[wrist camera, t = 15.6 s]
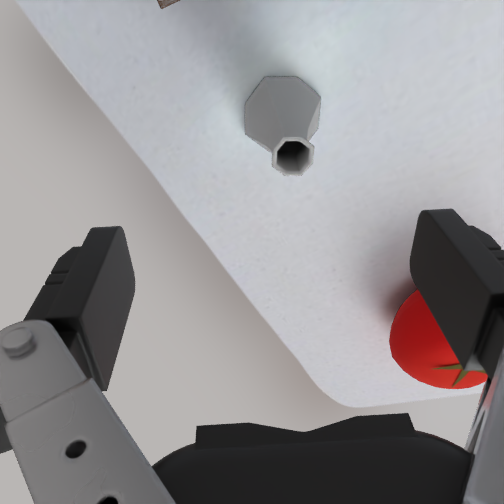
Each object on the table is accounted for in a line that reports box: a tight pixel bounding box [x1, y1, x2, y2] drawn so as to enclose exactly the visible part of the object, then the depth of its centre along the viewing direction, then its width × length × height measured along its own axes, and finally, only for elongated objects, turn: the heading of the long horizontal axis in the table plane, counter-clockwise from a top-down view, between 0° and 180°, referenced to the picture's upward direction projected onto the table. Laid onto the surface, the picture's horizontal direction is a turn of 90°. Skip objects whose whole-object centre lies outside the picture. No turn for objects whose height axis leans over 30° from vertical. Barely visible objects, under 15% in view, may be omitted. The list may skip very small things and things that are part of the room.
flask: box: [245, 77, 321, 176], centre depth 36 cm, size 7×7×10 cm
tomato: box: [389, 289, 488, 389], centre depth 50 cm, size 14×13×10 cm
